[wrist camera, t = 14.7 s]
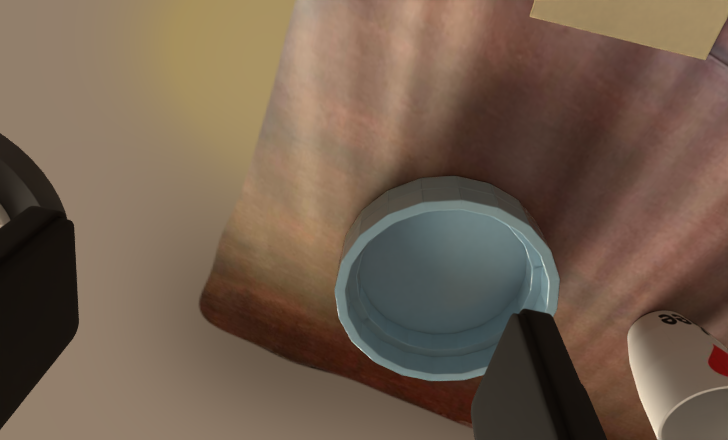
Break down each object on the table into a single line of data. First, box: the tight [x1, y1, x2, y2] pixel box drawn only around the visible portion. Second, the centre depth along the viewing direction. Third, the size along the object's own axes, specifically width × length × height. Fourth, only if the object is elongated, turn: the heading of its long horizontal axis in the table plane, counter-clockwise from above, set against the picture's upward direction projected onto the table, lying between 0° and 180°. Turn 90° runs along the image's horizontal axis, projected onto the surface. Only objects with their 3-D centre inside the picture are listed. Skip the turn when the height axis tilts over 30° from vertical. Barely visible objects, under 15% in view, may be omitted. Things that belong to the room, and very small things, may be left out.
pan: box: [335, 176, 560, 381], centre depth 42 cm, size 17×17×4 cm
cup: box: [627, 311, 728, 440], centre depth 41 cm, size 8×8×10 cm
